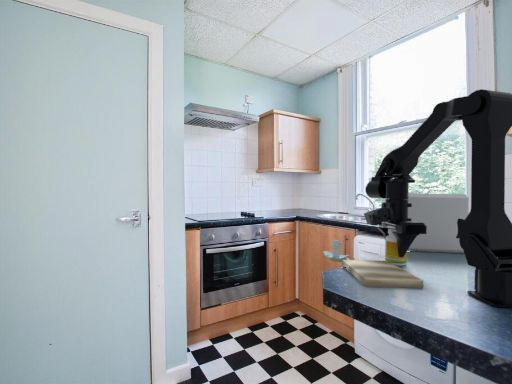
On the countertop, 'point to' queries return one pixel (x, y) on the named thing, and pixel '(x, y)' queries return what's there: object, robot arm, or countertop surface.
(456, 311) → the countertop surface
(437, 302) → the countertop surface
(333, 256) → the pacifier
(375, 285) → the birch board
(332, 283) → the countertop surface
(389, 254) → the supplement bottle
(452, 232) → the bevelled white case
